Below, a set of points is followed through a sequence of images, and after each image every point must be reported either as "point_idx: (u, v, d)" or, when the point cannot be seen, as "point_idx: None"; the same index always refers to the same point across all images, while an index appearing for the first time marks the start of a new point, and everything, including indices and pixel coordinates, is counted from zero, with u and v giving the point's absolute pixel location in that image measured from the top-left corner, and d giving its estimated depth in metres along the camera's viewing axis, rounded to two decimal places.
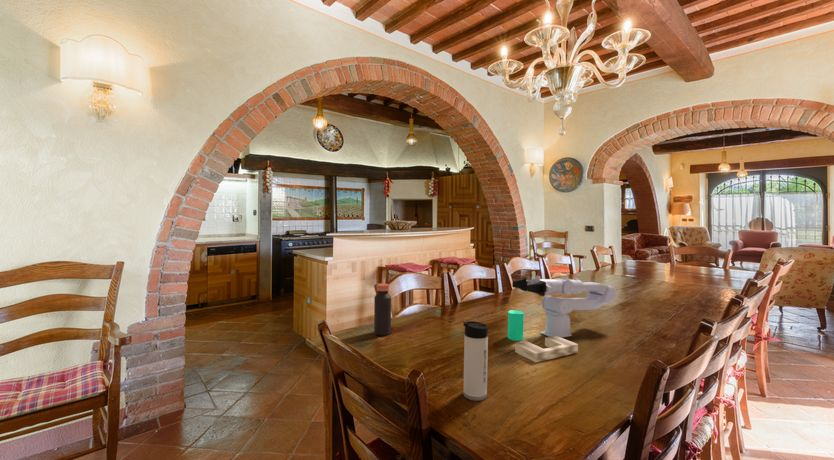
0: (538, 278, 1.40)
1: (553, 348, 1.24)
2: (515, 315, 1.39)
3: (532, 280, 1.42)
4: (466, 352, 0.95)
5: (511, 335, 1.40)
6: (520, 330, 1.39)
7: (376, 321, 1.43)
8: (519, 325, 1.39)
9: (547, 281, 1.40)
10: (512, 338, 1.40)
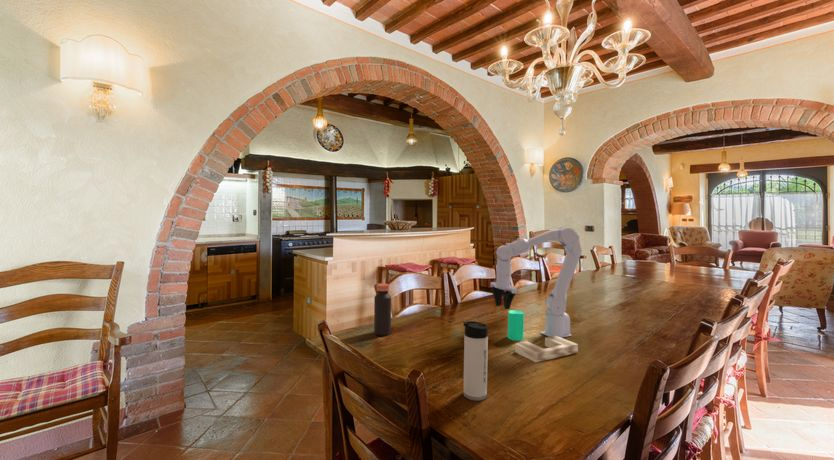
0: (498, 287, 1.46)
1: (553, 348, 1.24)
2: (515, 315, 1.39)
3: None
4: (466, 352, 0.95)
5: (511, 335, 1.40)
6: (520, 330, 1.39)
7: (376, 321, 1.43)
8: (519, 325, 1.39)
9: (502, 278, 1.46)
10: (512, 338, 1.40)
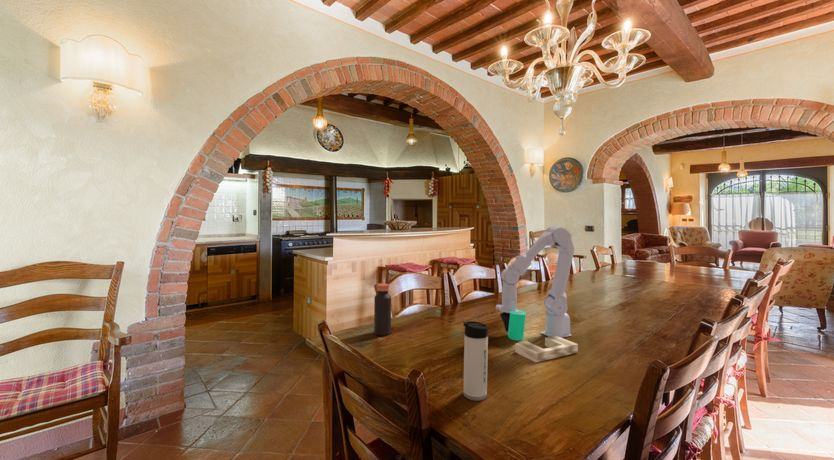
0: (503, 311, 1.43)
1: (553, 348, 1.24)
2: (517, 315, 1.38)
3: None
4: (466, 352, 0.95)
5: (511, 335, 1.40)
6: (521, 331, 1.39)
7: (376, 321, 1.43)
8: (520, 325, 1.38)
9: (507, 302, 1.43)
10: (512, 338, 1.40)
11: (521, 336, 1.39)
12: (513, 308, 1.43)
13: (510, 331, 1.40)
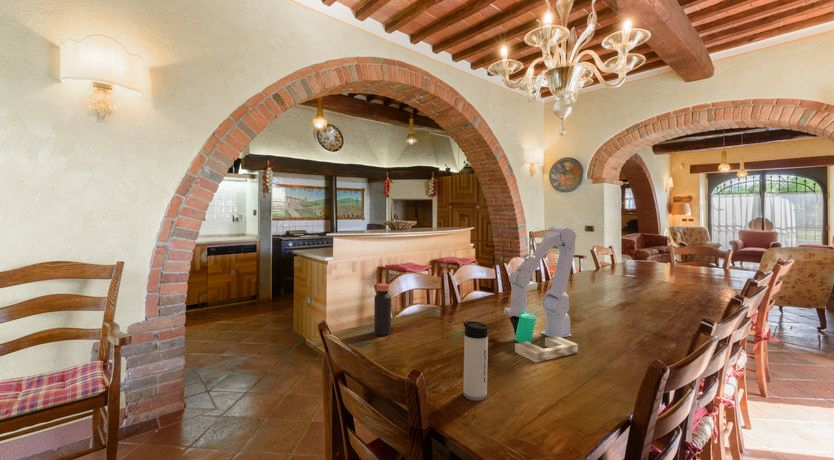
0: None
1: (553, 348, 1.24)
2: (526, 319, 1.33)
3: None
4: (466, 352, 0.95)
5: (519, 338, 1.36)
6: (529, 335, 1.34)
7: (376, 321, 1.43)
8: (529, 330, 1.34)
9: (517, 306, 1.38)
10: (519, 341, 1.36)
11: (529, 340, 1.35)
12: (523, 311, 1.38)
13: (518, 334, 1.36)
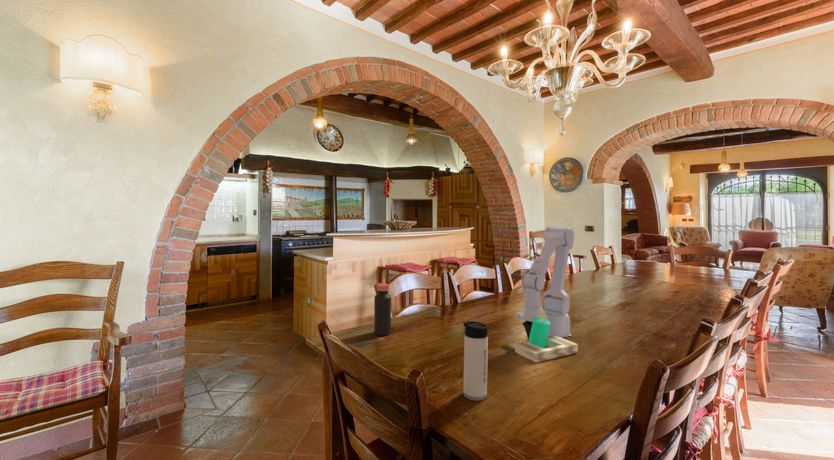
0: None
1: (553, 348, 1.24)
2: (540, 325, 1.27)
3: None
4: (466, 352, 0.95)
5: None
6: (543, 341, 1.28)
7: (376, 321, 1.43)
8: (542, 335, 1.27)
9: (530, 310, 1.31)
10: None
11: (542, 347, 1.28)
12: (537, 316, 1.31)
13: (531, 340, 1.30)
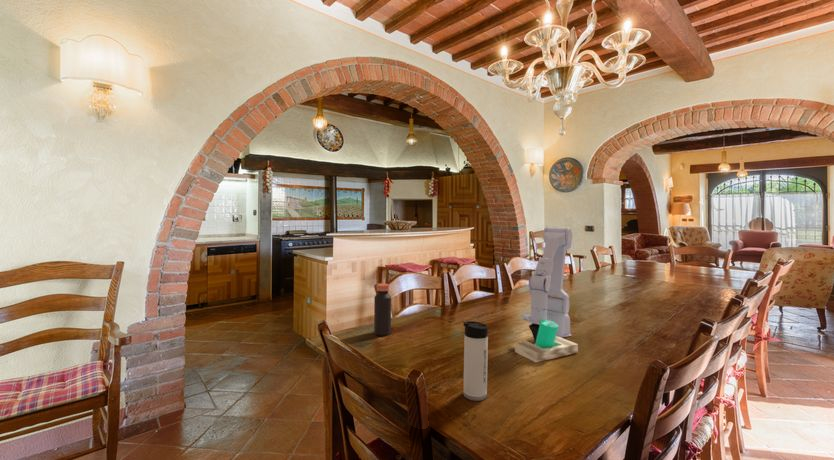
0: (533, 323, 1.29)
1: (553, 348, 1.24)
2: (548, 327, 1.24)
3: None
4: (466, 352, 0.95)
5: None
6: (550, 344, 1.25)
7: (376, 321, 1.43)
8: (550, 339, 1.24)
9: (537, 313, 1.28)
10: None
11: None
12: (544, 319, 1.28)
13: (538, 343, 1.27)
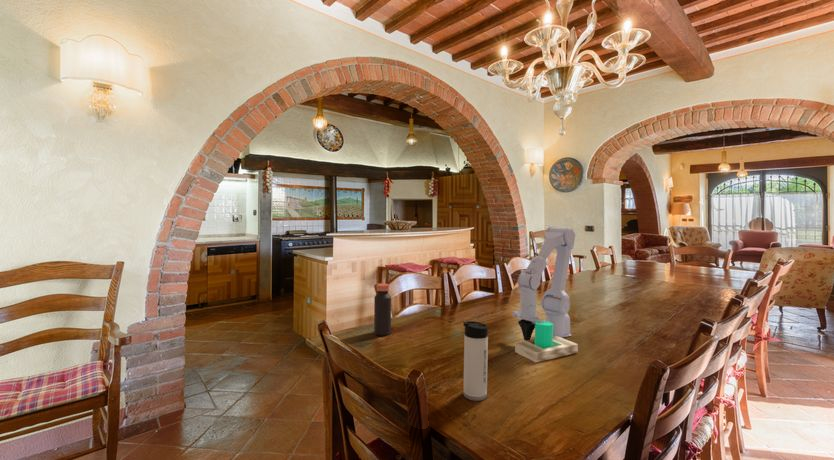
0: (522, 319, 1.34)
1: (553, 348, 1.24)
2: (543, 326, 1.25)
3: None
4: (466, 352, 0.95)
5: None
6: (548, 343, 1.25)
7: (376, 321, 1.43)
8: (547, 338, 1.25)
9: (526, 309, 1.33)
10: None
11: None
12: (533, 315, 1.33)
13: (536, 344, 1.27)
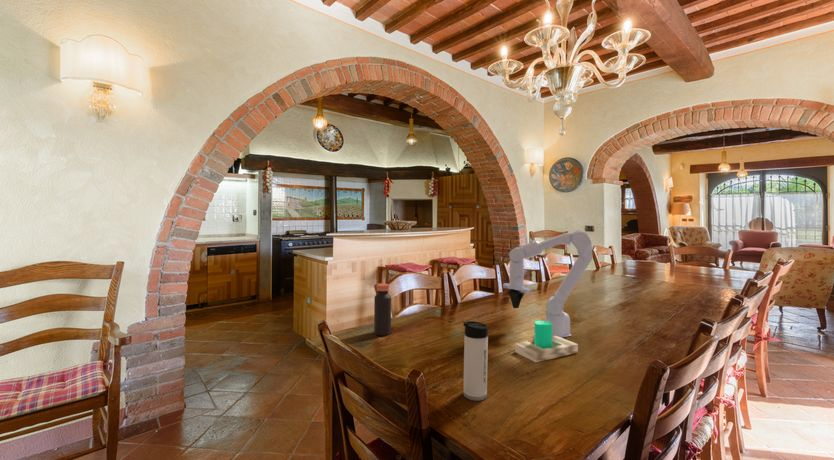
0: (511, 288, 1.50)
1: (553, 348, 1.24)
2: (542, 326, 1.25)
3: None
4: (466, 352, 0.95)
5: None
6: (548, 343, 1.25)
7: (376, 321, 1.43)
8: (547, 338, 1.25)
9: (515, 280, 1.49)
10: None
11: None
12: (520, 285, 1.49)
13: (536, 344, 1.27)
